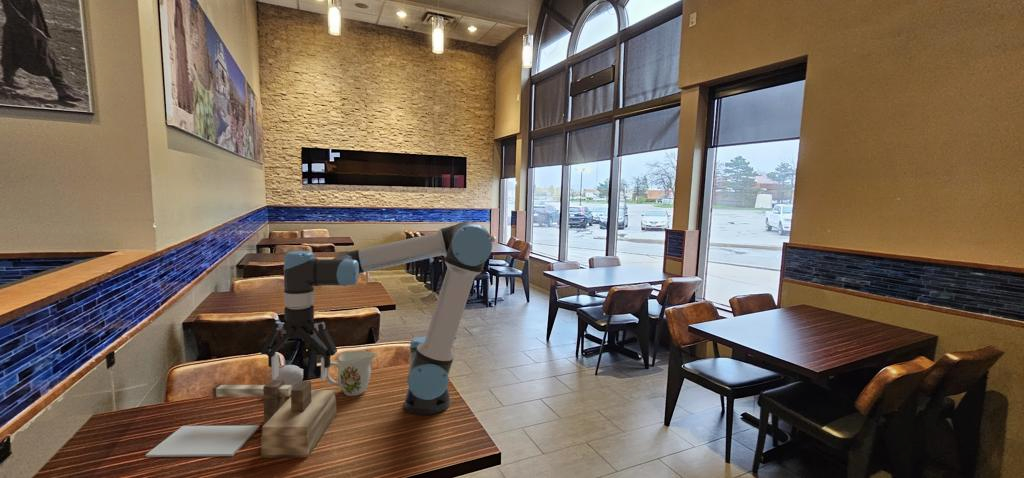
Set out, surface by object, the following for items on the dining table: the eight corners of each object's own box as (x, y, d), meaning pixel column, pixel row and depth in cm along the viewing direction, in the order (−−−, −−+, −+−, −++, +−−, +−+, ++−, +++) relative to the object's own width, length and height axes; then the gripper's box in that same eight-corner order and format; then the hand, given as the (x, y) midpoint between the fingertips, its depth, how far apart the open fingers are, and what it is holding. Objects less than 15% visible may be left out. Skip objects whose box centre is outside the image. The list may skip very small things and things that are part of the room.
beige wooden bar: (292, 393, 132) (292, 383, 131) (288, 398, 129) (287, 388, 128) (219, 393, 130) (219, 383, 130) (212, 398, 127) (212, 388, 127)
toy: (277, 393, 158) (267, 403, 144) (267, 371, 158) (257, 379, 144) (313, 376, 162) (307, 384, 148) (304, 355, 162) (297, 361, 148)
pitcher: (330, 385, 156) (329, 349, 155) (380, 384, 158) (380, 348, 157) (320, 399, 145) (319, 361, 144) (374, 398, 147) (374, 360, 146)
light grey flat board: (259, 427, 128) (259, 425, 127) (232, 456, 114) (232, 453, 114) (182, 427, 126) (182, 425, 126) (145, 456, 112) (145, 454, 112)
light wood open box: (336, 414, 136) (335, 377, 135) (307, 457, 114) (307, 413, 113) (274, 415, 135) (273, 377, 133) (234, 458, 113) (232, 413, 111)
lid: (334, 397, 135) (334, 370, 134) (307, 435, 114) (306, 403, 113) (297, 397, 134) (296, 370, 133) (262, 435, 113) (261, 403, 112)
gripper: (348, 303, 125) (348, 372, 127) (260, 301, 123) (261, 371, 125) (339, 310, 118) (339, 383, 120) (246, 308, 116) (247, 382, 118)
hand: (299, 377), depth 123 cm, fingers open, 13 cm apart
